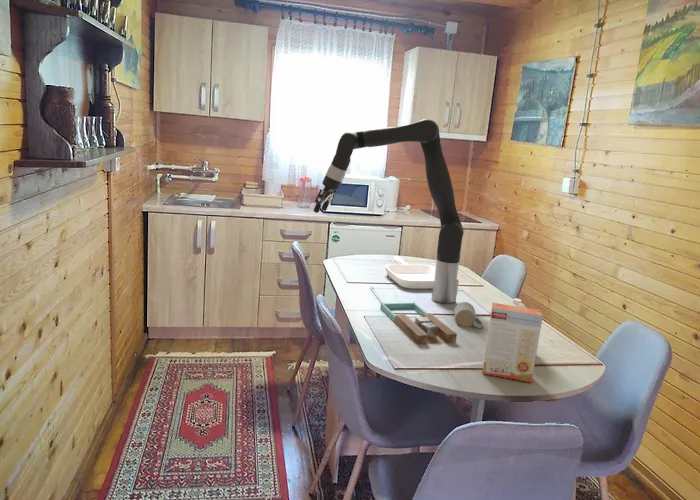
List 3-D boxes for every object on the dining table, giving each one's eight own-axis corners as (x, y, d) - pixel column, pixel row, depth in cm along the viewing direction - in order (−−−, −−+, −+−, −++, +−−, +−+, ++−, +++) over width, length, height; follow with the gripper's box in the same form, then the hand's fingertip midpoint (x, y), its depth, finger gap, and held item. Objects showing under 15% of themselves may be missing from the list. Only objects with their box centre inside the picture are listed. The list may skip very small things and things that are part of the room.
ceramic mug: (453, 327, 193) (457, 307, 191) (452, 319, 201) (455, 300, 199) (483, 331, 192) (487, 311, 190) (481, 323, 200) (484, 304, 198)
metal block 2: (429, 333, 182) (431, 322, 181) (436, 337, 179) (437, 326, 178) (419, 334, 180) (421, 323, 179) (426, 338, 177) (427, 327, 176)
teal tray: (413, 310, 207) (414, 302, 207) (429, 323, 194) (430, 315, 194) (380, 310, 203) (380, 303, 202) (393, 324, 190) (394, 316, 189)
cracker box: (530, 375, 159) (542, 309, 154) (531, 384, 153) (543, 315, 149) (482, 366, 162) (492, 301, 157) (481, 374, 157) (492, 307, 152)
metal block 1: (425, 327, 187) (426, 316, 186) (429, 332, 183) (430, 321, 182) (414, 327, 186) (415, 316, 185) (418, 332, 182) (419, 321, 181)
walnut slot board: (430, 323, 194) (431, 313, 193) (455, 345, 176) (456, 333, 176) (394, 325, 190) (395, 314, 189) (416, 347, 172) (418, 335, 171)
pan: (401, 290, 231) (402, 280, 230) (369, 263, 272) (370, 254, 271) (456, 290, 239) (458, 280, 238) (418, 264, 280) (419, 255, 279)
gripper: (335, 181, 217) (320, 217, 222) (347, 180, 230) (332, 213, 235) (320, 173, 218) (305, 208, 223) (333, 172, 232) (318, 205, 236)
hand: (319, 211), depth 229 cm, fingers open, 8 cm apart
